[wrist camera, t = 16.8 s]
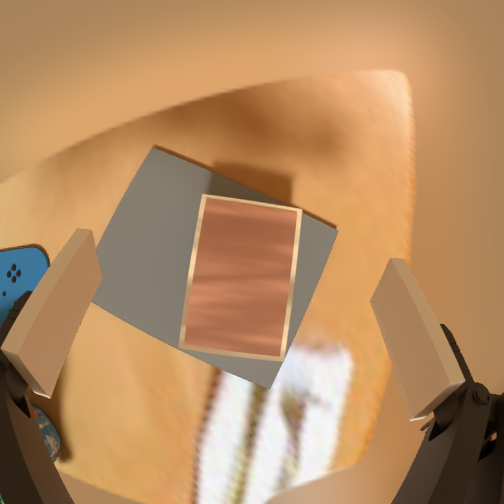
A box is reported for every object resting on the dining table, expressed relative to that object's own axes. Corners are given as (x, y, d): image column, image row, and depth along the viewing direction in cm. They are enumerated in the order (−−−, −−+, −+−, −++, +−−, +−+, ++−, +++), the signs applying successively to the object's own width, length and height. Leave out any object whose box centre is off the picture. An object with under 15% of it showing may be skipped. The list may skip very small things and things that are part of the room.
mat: (79, 292, 26) (76, 292, 25) (153, 149, 29) (152, 147, 28) (268, 387, 26) (269, 389, 26) (336, 232, 29) (338, 230, 28)
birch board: (284, 362, 22) (302, 208, 24) (178, 348, 22) (202, 193, 24) (275, 353, 26) (291, 221, 28) (185, 341, 26) (205, 208, 28)
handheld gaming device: (50, 326, 24) (-36, 325, 23) (55, 326, 26) (-30, 325, 24) (46, 243, 26) (-38, 257, 24) (51, 245, 27) (-32, 258, 25)
